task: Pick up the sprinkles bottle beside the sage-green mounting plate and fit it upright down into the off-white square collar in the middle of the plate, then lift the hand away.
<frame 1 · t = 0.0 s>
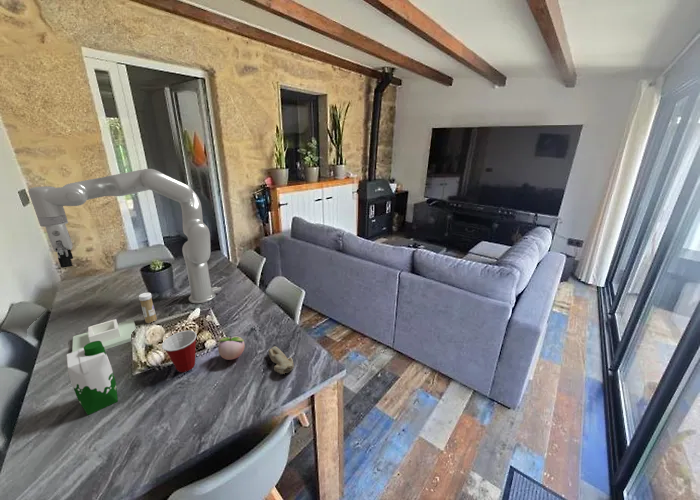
hand: (67, 263, 113), 31 cm above the table, tool pointing down, fingers open, 9 cm apart
sculpture: (280, 365, 106), on the table
decorative fruit: (233, 359, 108), on the table
sprinkles bottle: (151, 321, 131), on the table
milk carton: (101, 402, 89), on the table
plastic cup: (185, 367, 104), on the table
chute mount: (106, 339, 118), on the table
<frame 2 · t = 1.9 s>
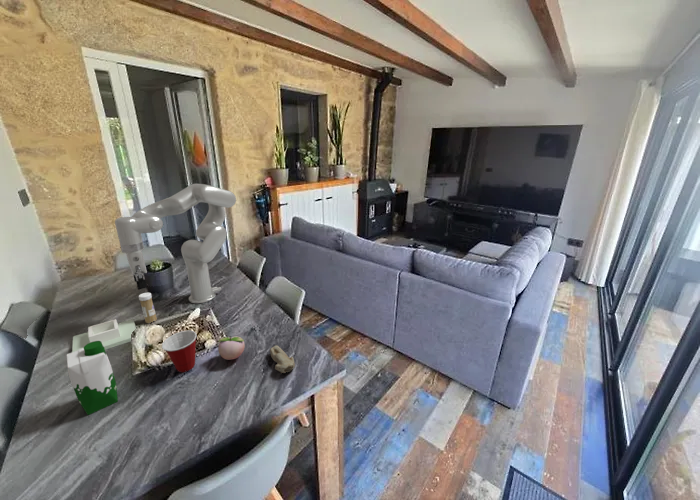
hand: (140, 284, 124), 18 cm above the table, tool pointing down, fingers open, 9 cm apart
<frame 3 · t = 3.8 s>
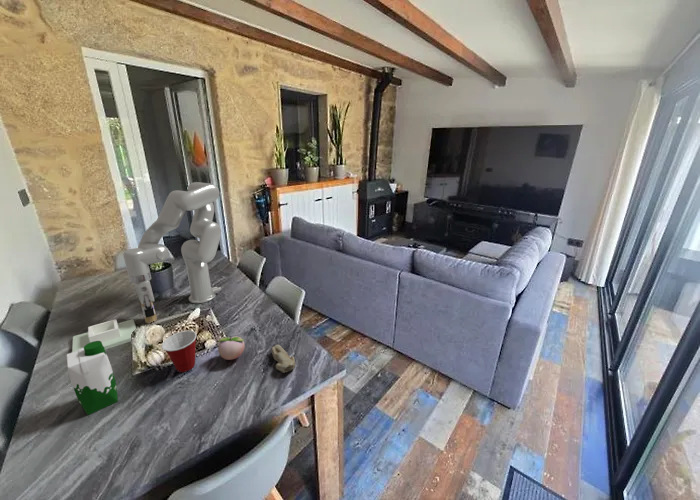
hand: (149, 313, 129), 4 cm above the table, tool pointing down, fingers closed on sprinkles bottle, 4 cm apart
sprinkles bottle: (151, 321, 131), on the table, touching gripper
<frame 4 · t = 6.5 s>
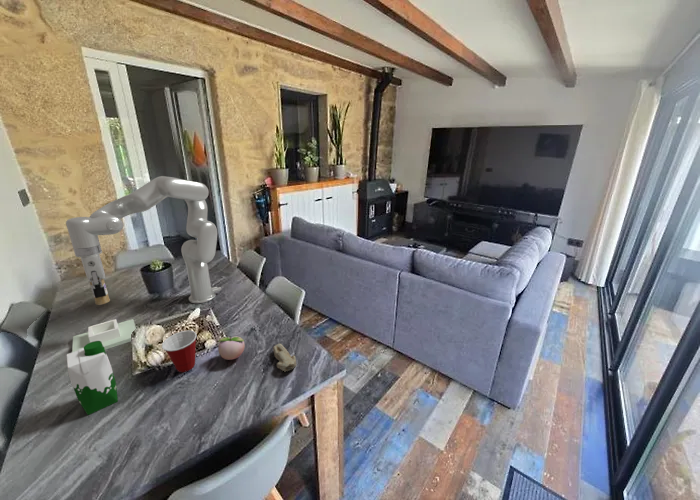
hand: (100, 293, 113), 20 cm above the table, tool pointing down, fingers closed on sprinkles bottle, 4 cm apart
sprinkles bottle: (103, 302, 114), point 16 cm above the table, touching gripper
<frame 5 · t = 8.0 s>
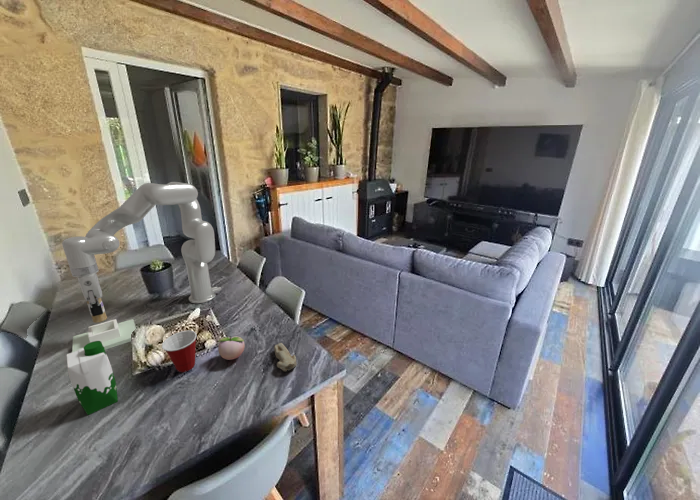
hand: (97, 311, 113), 13 cm above the table, tool pointing down, fingers closed on sprinkles bottle, 4 cm apart
sprinkles bottle: (100, 320, 115), point 9 cm above the table, touching gripper
when the fingers open (7 cm above the table, at t = 9.4 s): sprinkles bottle drops 2 cm, resting on chute mount.
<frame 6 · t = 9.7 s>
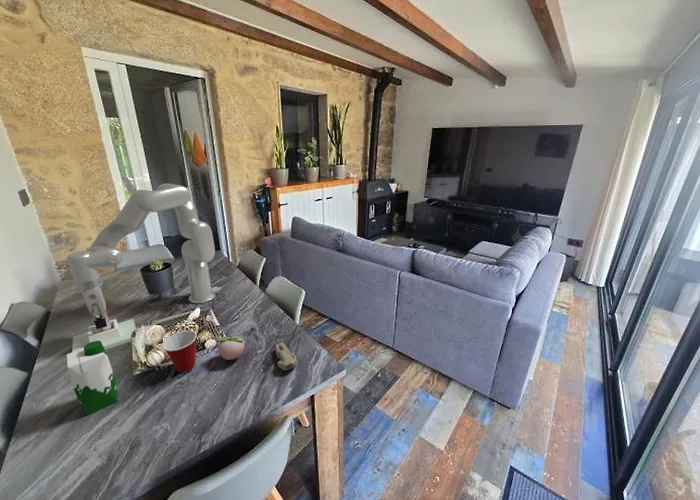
hand: (101, 322, 115), 8 cm above the table, tool pointing down, fingers open, 7 cm apart
sprinkles bottle: (106, 336, 118), point 1 cm above the table, touching chute mount
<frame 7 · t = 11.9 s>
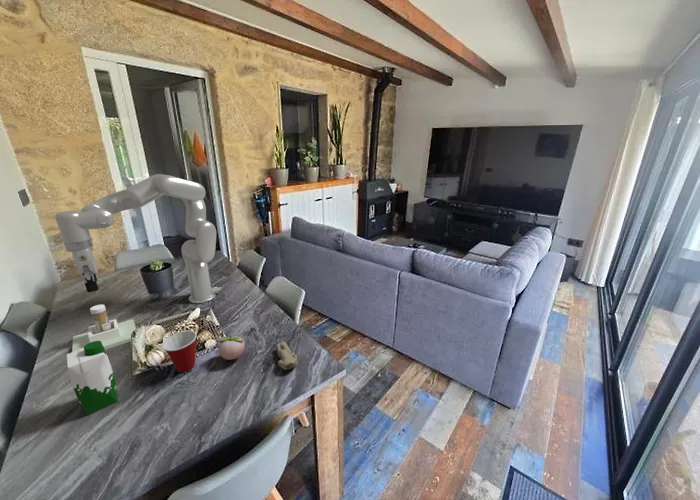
hand: (92, 286, 111), 23 cm above the table, tool pointing down, fingers open, 9 cm apart
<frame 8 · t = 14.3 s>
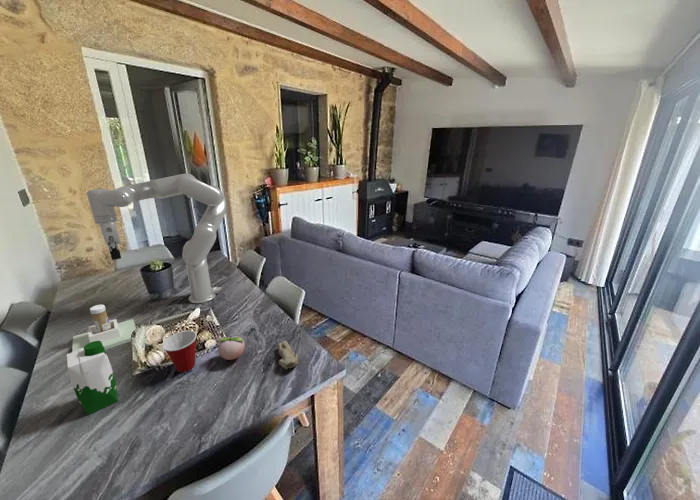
hand: (115, 255, 129), 28 cm above the table, tool pointing down, fingers open, 9 cm apart
at the end: sprinkles bottle 0.2 cm off-centre on the chute mount, point 1.3 cm above the chute mount's base; sprinkles bottle tilted 0°; the gripper is holding nothing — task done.
